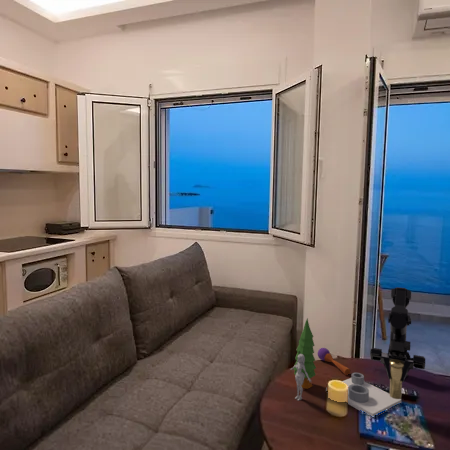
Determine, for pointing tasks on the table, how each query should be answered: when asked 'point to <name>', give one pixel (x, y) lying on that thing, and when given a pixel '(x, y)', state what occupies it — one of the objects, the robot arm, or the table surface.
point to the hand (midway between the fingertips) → (395, 380)
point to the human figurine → (300, 375)
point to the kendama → (331, 360)
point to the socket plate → (367, 396)
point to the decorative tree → (306, 354)
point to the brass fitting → (396, 378)
